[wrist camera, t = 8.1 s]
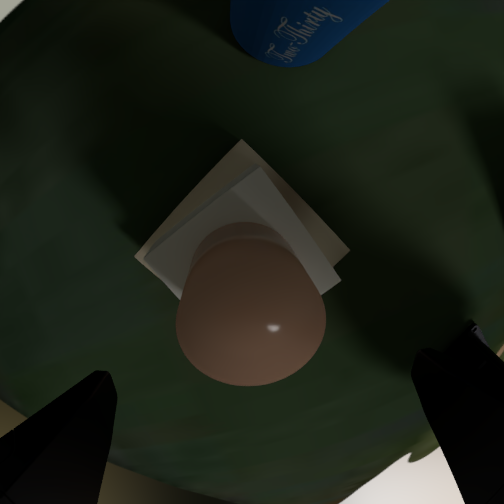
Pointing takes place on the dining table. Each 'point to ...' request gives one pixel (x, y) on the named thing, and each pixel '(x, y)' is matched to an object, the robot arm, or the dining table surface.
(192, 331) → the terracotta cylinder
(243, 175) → the tower top
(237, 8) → the beverage can
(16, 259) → the dining table surface
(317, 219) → the tower base
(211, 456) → the dining table surface
